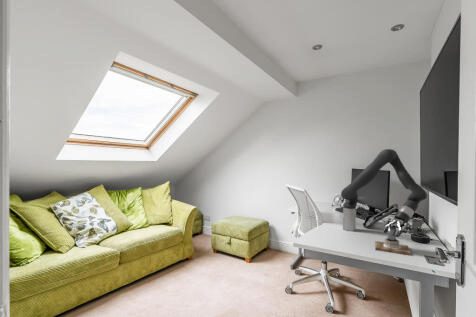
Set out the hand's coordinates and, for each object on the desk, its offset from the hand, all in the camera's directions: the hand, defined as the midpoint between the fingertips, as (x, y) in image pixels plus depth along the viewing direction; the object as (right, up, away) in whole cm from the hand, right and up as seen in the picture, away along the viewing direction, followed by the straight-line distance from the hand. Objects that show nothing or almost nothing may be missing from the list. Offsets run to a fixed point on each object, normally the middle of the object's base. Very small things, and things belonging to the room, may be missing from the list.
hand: (390, 234), depth 154 cm
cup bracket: (+1, -9, 0) cm, 9 cm away
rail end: (+1, -7, 0) cm, 7 cm away
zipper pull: (+45, -10, +40) cm, 61 cm away
